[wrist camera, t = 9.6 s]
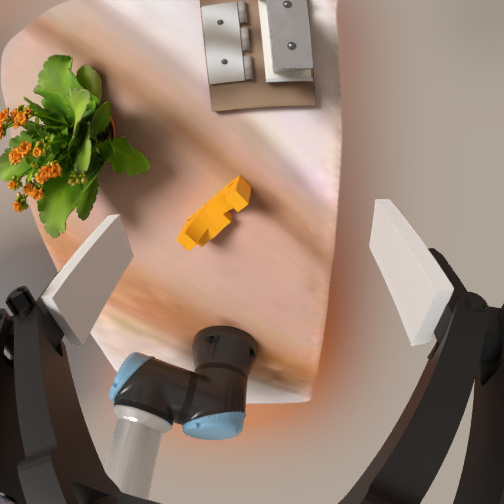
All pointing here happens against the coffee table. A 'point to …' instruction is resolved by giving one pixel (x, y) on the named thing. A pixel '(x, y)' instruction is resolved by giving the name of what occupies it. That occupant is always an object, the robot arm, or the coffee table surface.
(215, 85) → the hinge board
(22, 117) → the potted flower
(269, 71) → the leaf seat
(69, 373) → the robot arm
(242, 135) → the coffee table surface
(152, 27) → the coffee table surface
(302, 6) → the leaf block
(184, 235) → the pipe clamp
